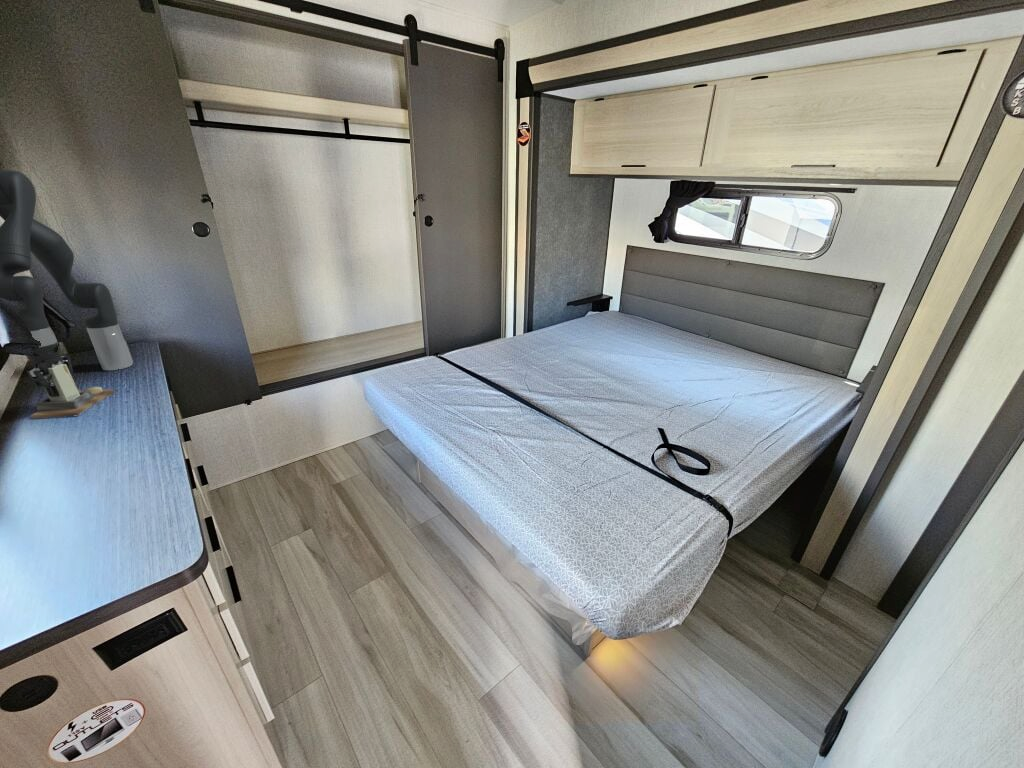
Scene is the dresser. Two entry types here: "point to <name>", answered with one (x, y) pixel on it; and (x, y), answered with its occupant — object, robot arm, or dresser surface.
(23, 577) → the dresser surface
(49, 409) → the carrier plate
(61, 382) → the skincare box
